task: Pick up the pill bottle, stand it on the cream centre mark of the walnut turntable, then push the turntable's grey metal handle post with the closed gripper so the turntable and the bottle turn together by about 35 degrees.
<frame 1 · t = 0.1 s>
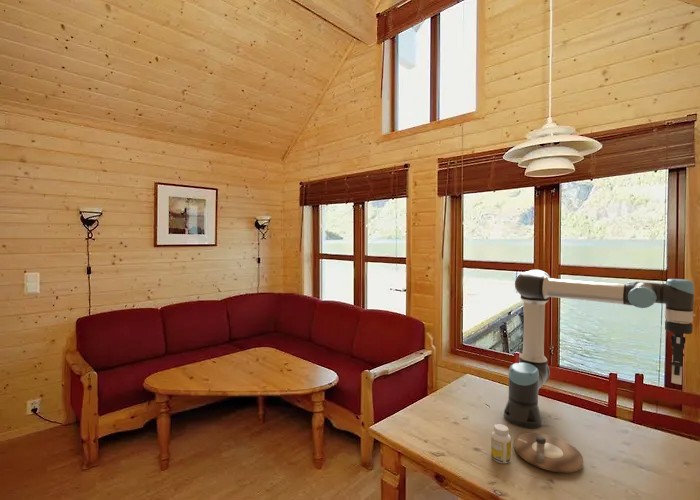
hand: (676, 378, 134), 28 cm above the table, fingers open, 13 cm apart
turntable: (547, 440, 131), point 6 cm above the table, hinge at 0.0°
pill bottle: (500, 459, 130), on the table
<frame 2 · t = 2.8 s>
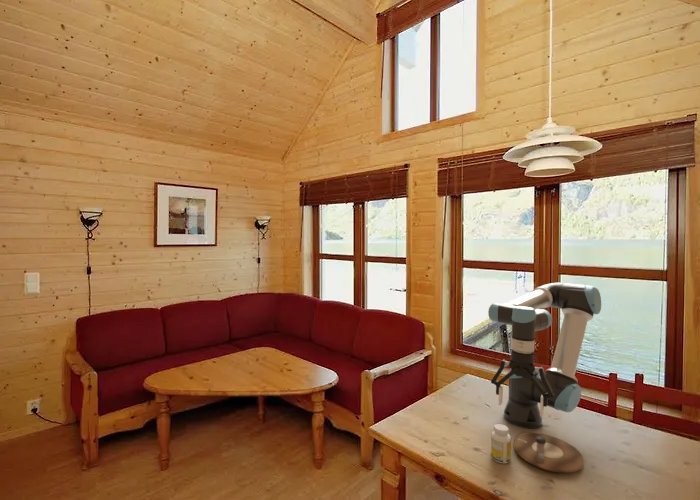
hand: (520, 409, 129), 18 cm above the table, fingers open, 13 cm apart
nothing on the table moved.
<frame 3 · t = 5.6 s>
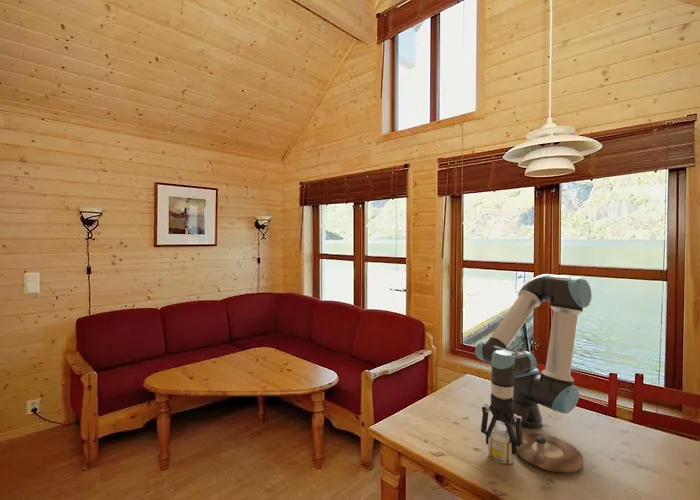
hand: (500, 457, 130), 0 cm above the table, fingers closed on pill bottle, 6 cm apart
pill bottle: (500, 459, 130), on the table, touching gripper
everything else where it was.
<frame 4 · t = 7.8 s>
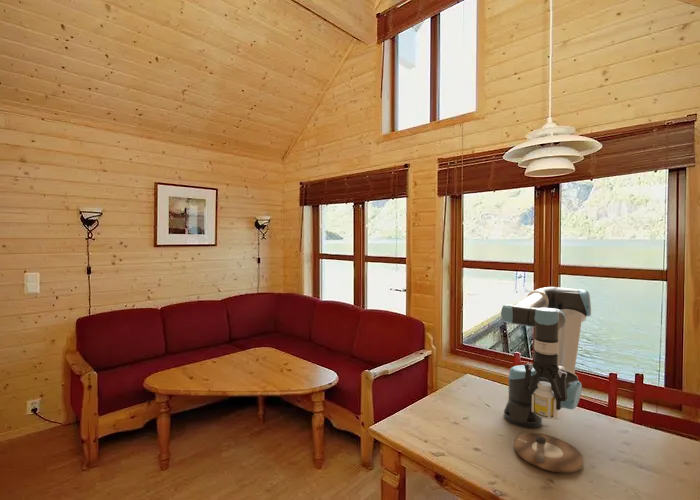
hand: (544, 413, 131), 16 cm above the table, fingers closed on pill bottle, 6 cm apart
pill bottle: (544, 415, 131), point 15 cm above the table, touching gripper
everything else where it was.
when the fingers open (4 cm above the table, at t = 10.1 s): pill bottle stays where it is, resting on turntable.
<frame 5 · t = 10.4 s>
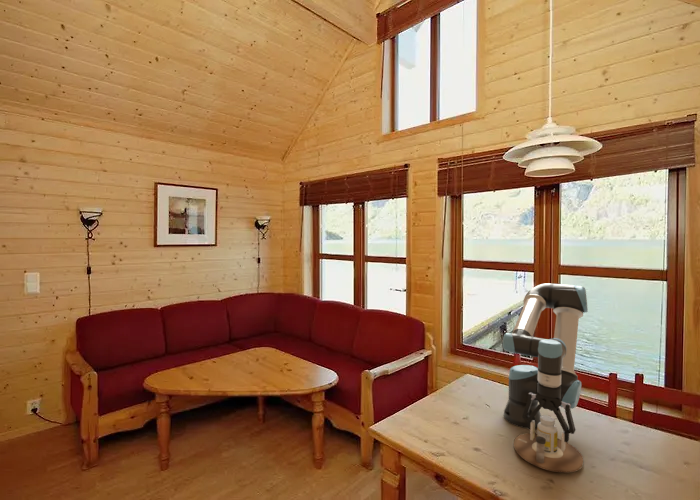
hand: (547, 444, 131), 5 cm above the table, fingers open, 9 cm apart
turntable: (547, 440, 131), point 6 cm above the table, hinge at 0.0°, touching pill bottle
pill bottle: (546, 449, 132), point 2 cm above the table, touching turntable
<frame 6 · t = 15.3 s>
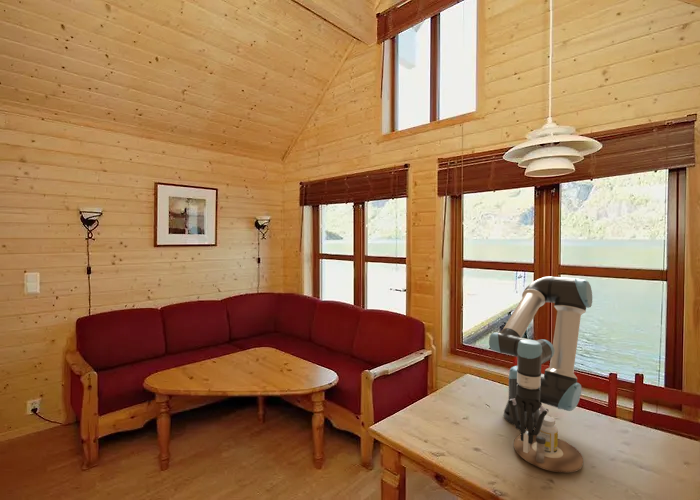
hand: (526, 450, 127), 4 cm above the table, fingers closed
turntable: (547, 440, 131), point 6 cm above the table, hinge at 0.1°, touching gripper, pill bottle
everything else where it was.
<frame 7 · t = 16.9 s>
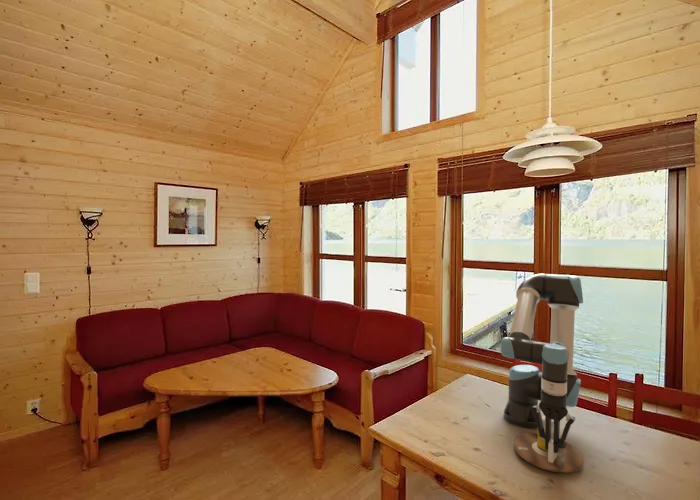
hand: (551, 460, 122), 5 cm above the table, fingers closed
turntable: (547, 440, 131), point 6 cm above the table, hinge at 37.9°, touching gripper, pill bottle
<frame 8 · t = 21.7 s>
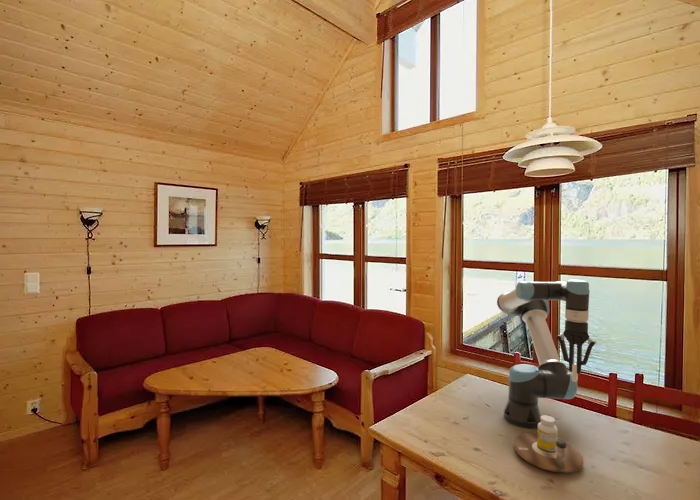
hand: (574, 380, 140), 24 cm above the table, fingers closed
turntable: (547, 440, 131), point 6 cm above the table, hinge at 38.6°, touching pill bottle
at the end: pill bottle 0.1 cm from the turntable (horizontally); pill bottle tilted 0°; turntable at +39° (first picture: +0°) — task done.
